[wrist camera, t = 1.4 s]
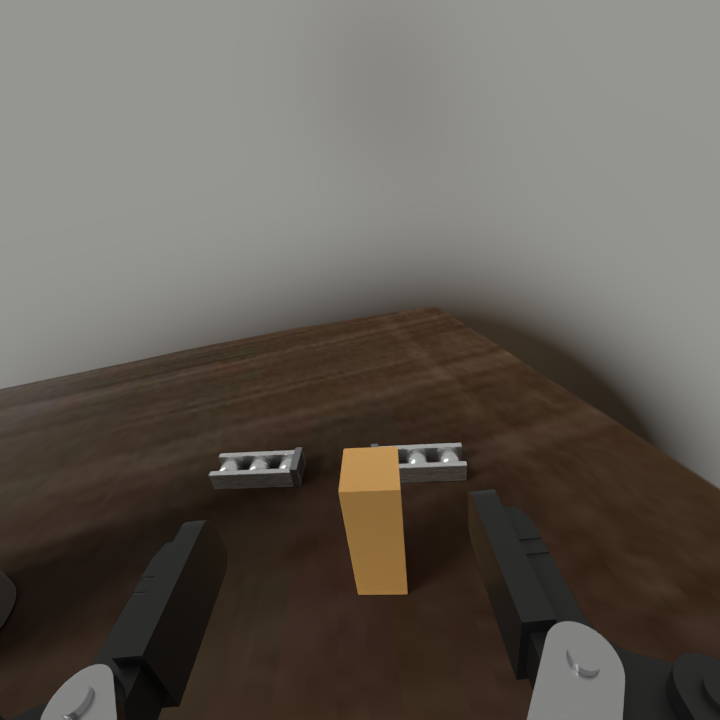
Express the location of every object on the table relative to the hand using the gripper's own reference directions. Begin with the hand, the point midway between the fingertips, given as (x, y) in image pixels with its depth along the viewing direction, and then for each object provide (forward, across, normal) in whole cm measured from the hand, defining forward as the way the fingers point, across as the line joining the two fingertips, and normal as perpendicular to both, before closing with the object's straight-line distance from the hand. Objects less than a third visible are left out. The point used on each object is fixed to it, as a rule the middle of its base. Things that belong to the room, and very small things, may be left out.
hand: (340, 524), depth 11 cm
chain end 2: (+23, -5, +19) cm, 30 cm away
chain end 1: (+24, +13, +19) cm, 33 cm away
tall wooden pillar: (+12, 0, +20) cm, 23 cm away
